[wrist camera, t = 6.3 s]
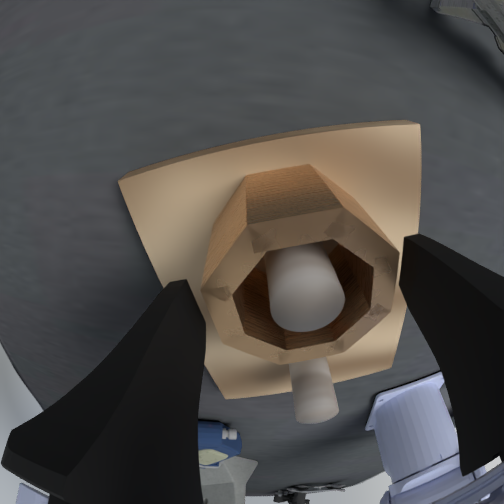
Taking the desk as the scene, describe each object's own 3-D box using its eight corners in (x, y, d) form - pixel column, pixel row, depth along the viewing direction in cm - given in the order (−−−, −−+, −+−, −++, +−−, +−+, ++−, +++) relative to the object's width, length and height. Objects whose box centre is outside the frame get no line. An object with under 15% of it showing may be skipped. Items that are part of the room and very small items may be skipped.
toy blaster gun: (38, 368, 20) (86, 426, 28) (25, 402, 16) (80, 451, 25) (247, 401, 22) (235, 448, 30) (249, 445, 19) (236, 476, 27)
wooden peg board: (385, 355, 18) (407, 413, 14) (226, 385, 19) (224, 448, 15) (405, 119, 10) (488, 150, 5) (128, 172, 11) (65, 229, 6)
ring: (354, 277, 13) (385, 342, 9) (236, 299, 13) (235, 371, 10) (351, 157, 10) (403, 198, 6) (201, 184, 10) (180, 238, 7)
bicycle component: (349, 485, 46) (300, 487, 43) (344, 509, 42) (293, 514, 39) (320, 480, 55) (272, 479, 52) (315, 502, 51) (267, 503, 48)
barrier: (156, 474, 42) (152, 514, 33) (126, 464, 39) (120, 506, 30) (257, 459, 32) (260, 520, 23) (220, 450, 29) (218, 518, 21)
